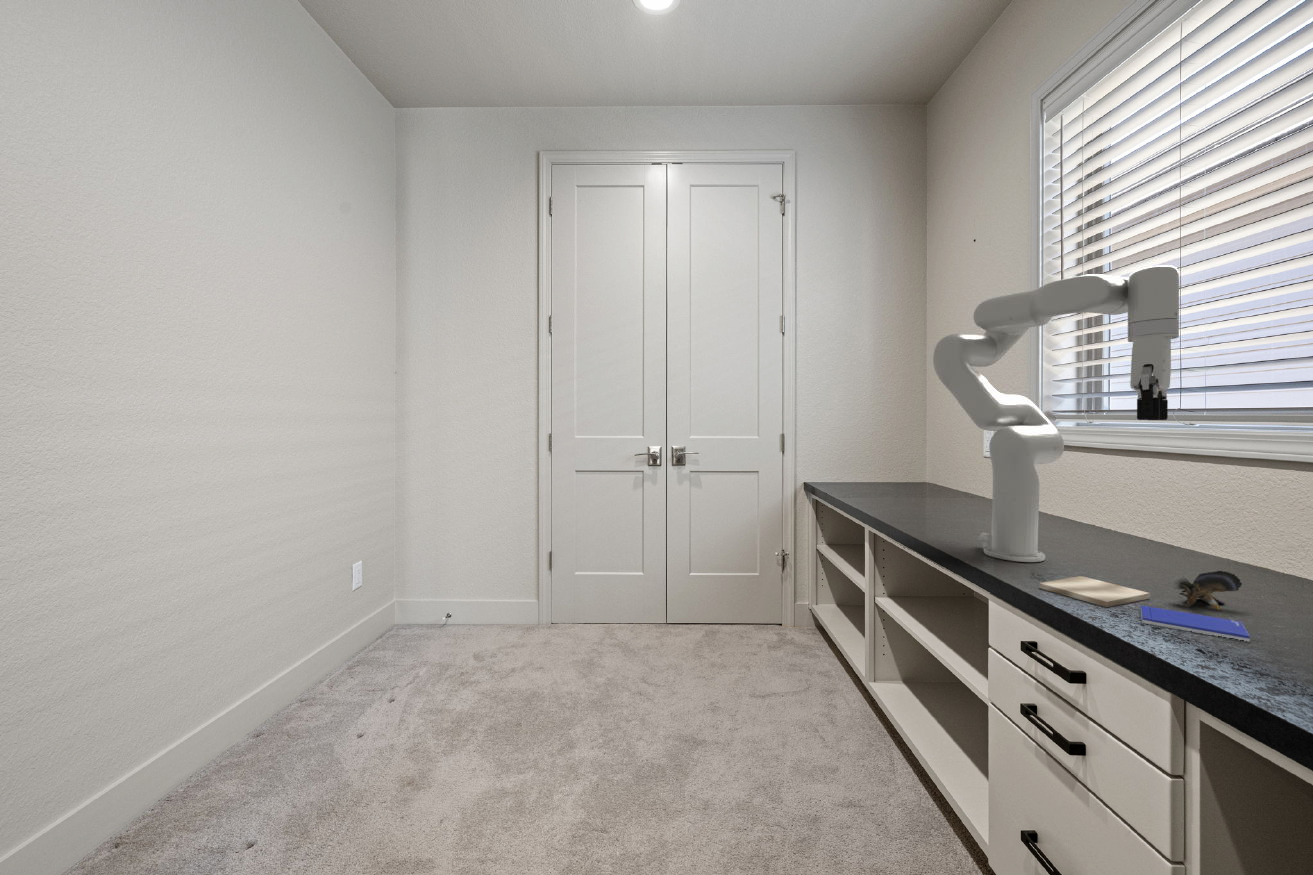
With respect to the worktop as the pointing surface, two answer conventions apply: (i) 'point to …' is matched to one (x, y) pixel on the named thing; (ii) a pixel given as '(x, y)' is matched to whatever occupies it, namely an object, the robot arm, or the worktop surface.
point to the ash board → (1094, 591)
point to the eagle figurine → (1206, 586)
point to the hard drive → (1194, 623)
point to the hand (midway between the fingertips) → (1152, 419)
